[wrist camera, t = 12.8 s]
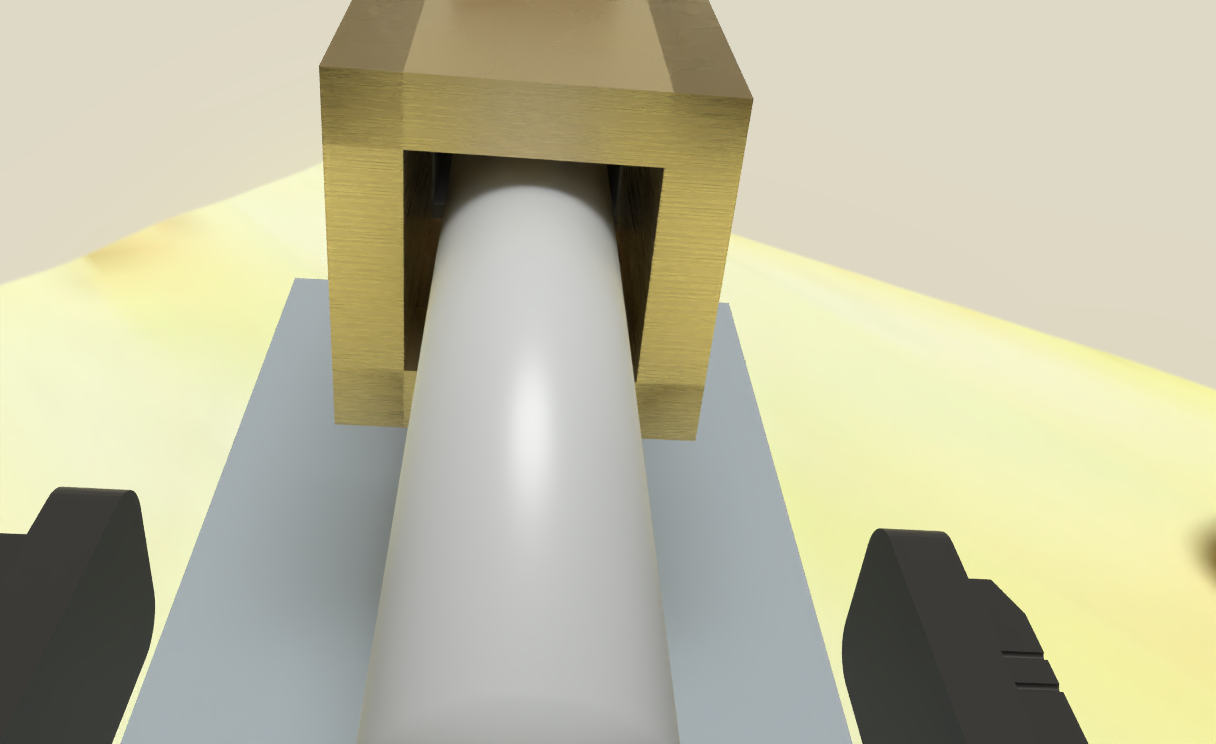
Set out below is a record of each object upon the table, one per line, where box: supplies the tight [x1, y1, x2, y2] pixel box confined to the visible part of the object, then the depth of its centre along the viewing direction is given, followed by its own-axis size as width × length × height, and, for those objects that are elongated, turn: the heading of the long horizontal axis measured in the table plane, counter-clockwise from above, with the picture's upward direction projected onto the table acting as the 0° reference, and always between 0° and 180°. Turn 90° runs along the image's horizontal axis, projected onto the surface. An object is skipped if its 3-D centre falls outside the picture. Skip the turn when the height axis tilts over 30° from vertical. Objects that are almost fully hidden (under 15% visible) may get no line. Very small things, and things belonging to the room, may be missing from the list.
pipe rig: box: [121, 153, 852, 744], centre depth 22 cm, size 14×26×16 cm, turn 3°
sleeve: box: [319, 0, 753, 441], centre depth 21 cm, size 6×6×6 cm
